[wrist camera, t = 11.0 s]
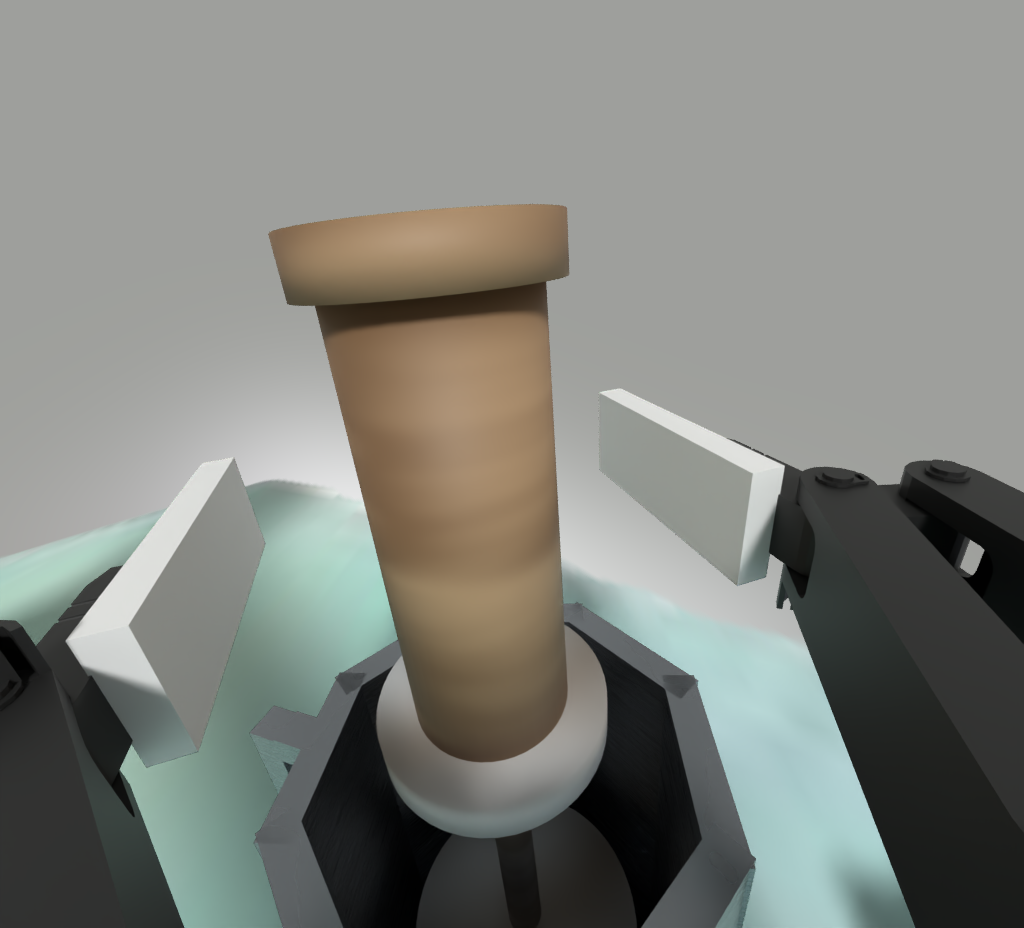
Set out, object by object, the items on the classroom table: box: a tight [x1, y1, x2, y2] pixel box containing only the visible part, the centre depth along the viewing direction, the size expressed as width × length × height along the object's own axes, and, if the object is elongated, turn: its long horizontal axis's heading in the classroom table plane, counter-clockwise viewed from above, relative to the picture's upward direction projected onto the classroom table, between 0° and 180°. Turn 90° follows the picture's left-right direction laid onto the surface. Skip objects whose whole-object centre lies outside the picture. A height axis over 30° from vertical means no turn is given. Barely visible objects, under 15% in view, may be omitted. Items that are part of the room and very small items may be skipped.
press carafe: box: [250, 603, 756, 928], centre depth 18 cm, size 16×13×16 cm
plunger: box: [268, 204, 637, 928], centre depth 13 cm, size 8×8×23 cm
